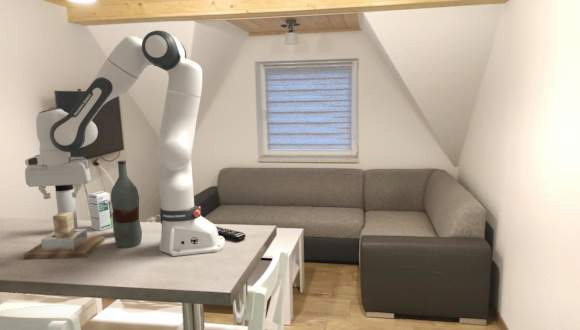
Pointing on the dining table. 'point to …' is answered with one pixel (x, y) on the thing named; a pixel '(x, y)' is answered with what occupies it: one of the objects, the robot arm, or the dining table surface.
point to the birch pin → (63, 224)
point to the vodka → (125, 210)
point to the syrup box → (100, 210)
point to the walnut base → (78, 252)
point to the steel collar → (64, 241)
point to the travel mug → (66, 201)
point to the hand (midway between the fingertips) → (61, 197)
